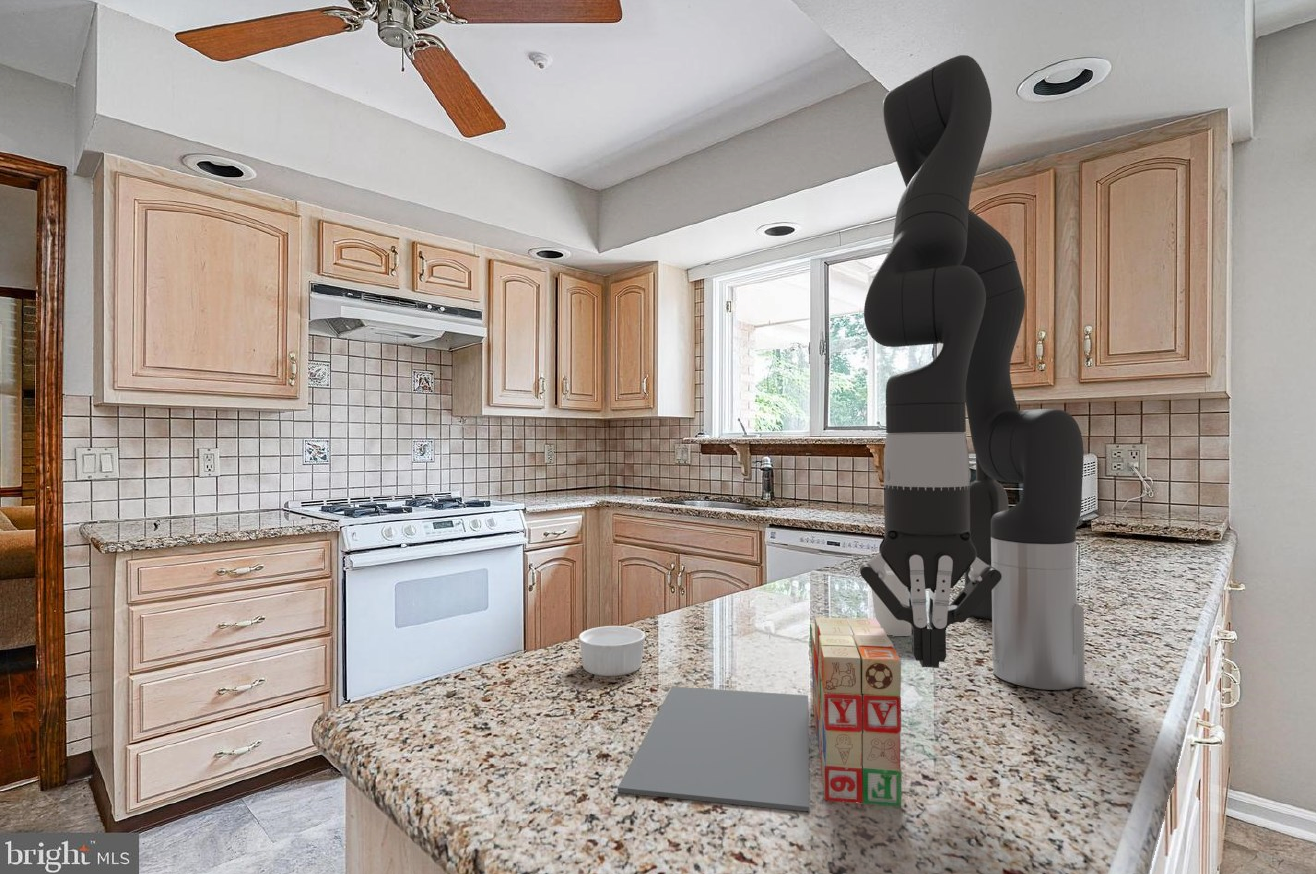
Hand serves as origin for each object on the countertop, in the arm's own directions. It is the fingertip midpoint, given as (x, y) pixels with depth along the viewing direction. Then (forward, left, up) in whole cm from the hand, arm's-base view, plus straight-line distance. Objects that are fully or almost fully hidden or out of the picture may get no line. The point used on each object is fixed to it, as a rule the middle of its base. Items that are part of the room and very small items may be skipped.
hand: (928, 664), depth 63 cm
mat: (+19, 0, -9) cm, 21 cm away
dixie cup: (-2, -42, -9) cm, 43 cm away
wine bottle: (-18, -54, -9) cm, 58 cm away
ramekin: (+37, -19, -9) cm, 42 cm away
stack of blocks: (+7, -1, -9) cm, 12 cm away
